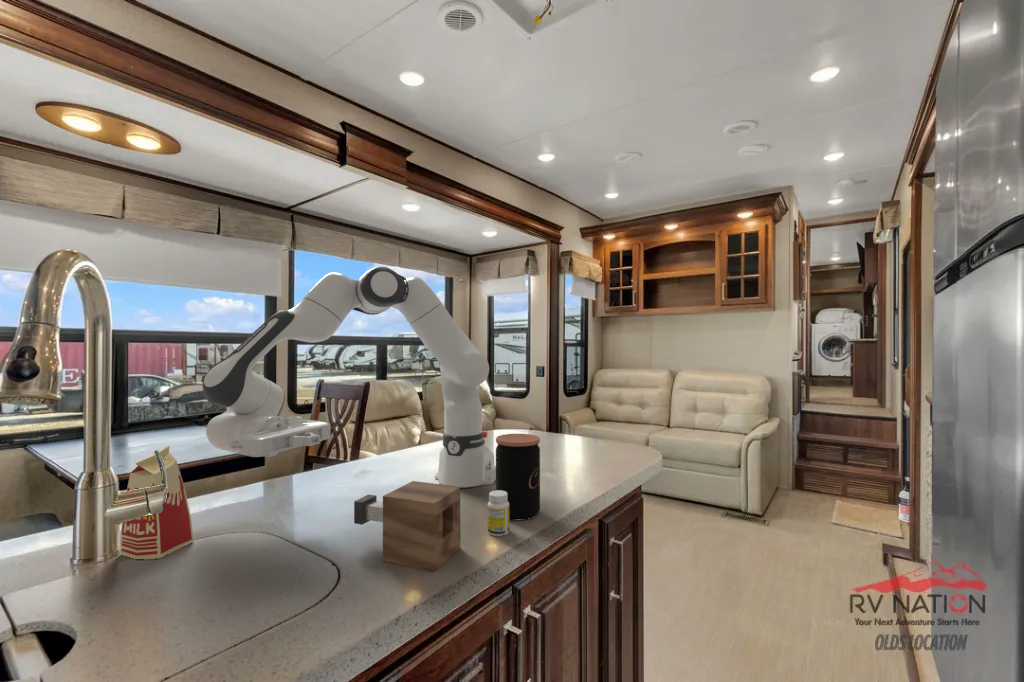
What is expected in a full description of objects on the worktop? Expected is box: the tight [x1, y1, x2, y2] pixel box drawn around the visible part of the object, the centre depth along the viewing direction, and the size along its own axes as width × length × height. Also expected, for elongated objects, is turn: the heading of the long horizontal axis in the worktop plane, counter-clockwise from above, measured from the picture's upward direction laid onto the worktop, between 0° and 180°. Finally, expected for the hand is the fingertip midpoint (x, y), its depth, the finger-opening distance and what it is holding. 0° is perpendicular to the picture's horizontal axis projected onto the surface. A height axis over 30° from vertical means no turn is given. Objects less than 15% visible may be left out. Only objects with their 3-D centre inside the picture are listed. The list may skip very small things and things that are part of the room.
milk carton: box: [119, 445, 195, 560], centre depth 91 cm, size 9×9×20 cm
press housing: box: [382, 480, 461, 573], centre depth 88 cm, size 10×11×12 cm
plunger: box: [353, 494, 383, 526], centre depth 91 cm, size 4×12×4 cm, turn 69°
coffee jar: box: [495, 433, 541, 520], centre depth 110 cm, size 11×11×18 cm
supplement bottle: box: [486, 489, 511, 537], centre depth 99 cm, size 5×5×8 cm
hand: (315, 440), depth 98 cm, fingers closed
